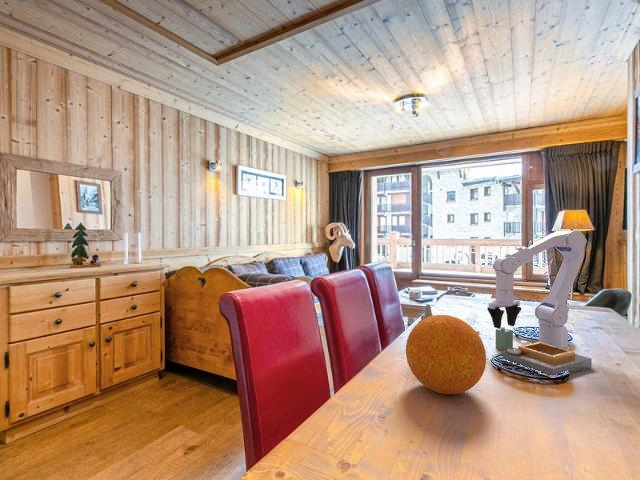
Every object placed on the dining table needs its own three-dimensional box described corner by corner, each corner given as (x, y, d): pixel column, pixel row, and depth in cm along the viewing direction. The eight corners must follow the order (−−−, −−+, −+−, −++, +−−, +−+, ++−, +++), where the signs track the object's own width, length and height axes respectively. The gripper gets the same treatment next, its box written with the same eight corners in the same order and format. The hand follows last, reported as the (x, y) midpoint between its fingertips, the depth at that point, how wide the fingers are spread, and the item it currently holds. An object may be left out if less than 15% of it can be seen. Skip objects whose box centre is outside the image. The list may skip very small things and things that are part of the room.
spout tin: (502, 346, 127) (502, 325, 127) (512, 349, 124) (513, 327, 124) (495, 348, 125) (495, 326, 125) (505, 351, 122) (505, 329, 122)
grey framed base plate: (539, 352, 121) (539, 338, 121) (591, 368, 106) (591, 352, 106) (502, 360, 112) (502, 345, 112) (552, 379, 98) (553, 362, 98)
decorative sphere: (502, 396, 87) (502, 318, 87) (452, 418, 77) (453, 329, 76) (437, 370, 104) (438, 305, 104) (390, 385, 93) (390, 312, 93)
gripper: (507, 287, 131) (507, 322, 131) (481, 289, 125) (481, 326, 125) (525, 289, 125) (524, 326, 125) (498, 292, 118) (498, 331, 119)
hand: (504, 326), depth 124 cm, fingers open, 7 cm apart
